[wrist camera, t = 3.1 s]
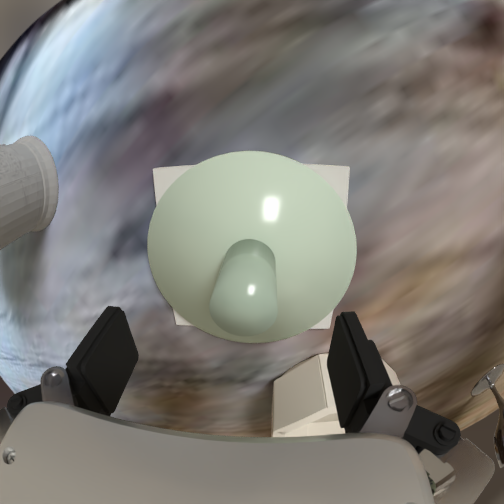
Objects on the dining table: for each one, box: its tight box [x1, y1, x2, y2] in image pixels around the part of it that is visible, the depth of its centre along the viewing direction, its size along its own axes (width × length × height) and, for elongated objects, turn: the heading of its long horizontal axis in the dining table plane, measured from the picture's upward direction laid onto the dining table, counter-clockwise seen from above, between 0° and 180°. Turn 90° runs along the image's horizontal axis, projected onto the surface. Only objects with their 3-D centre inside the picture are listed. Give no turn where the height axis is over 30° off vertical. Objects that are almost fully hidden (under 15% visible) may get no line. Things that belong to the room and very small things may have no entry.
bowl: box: [271, 352, 400, 437], centre depth 21 cm, size 12×12×6 cm
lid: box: [147, 151, 357, 343], centre depth 15 cm, size 14×14×6 cm
